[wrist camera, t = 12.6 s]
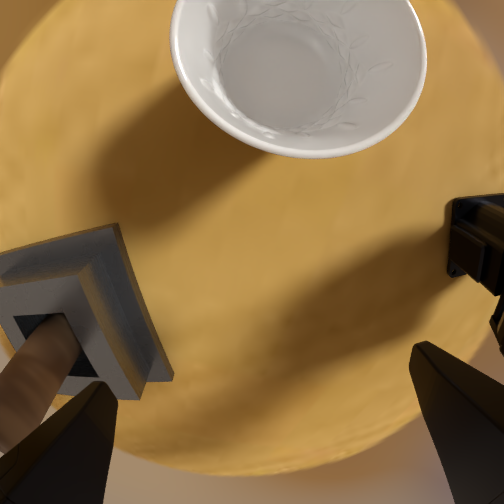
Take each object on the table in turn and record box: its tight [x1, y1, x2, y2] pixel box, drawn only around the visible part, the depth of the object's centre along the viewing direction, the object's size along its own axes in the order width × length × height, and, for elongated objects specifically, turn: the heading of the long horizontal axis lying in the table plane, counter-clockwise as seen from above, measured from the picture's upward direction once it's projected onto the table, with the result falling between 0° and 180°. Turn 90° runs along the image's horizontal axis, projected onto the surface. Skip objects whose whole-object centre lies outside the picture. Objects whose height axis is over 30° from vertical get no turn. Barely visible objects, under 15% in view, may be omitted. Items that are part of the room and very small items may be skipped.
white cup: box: [170, 0, 427, 159], centre depth 11 cm, size 8×8×10 cm
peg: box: [0, 313, 83, 454], centre depth 16 cm, size 4×4×13 cm
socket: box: [0, 223, 174, 400], centre depth 20 cm, size 14×14×4 cm
